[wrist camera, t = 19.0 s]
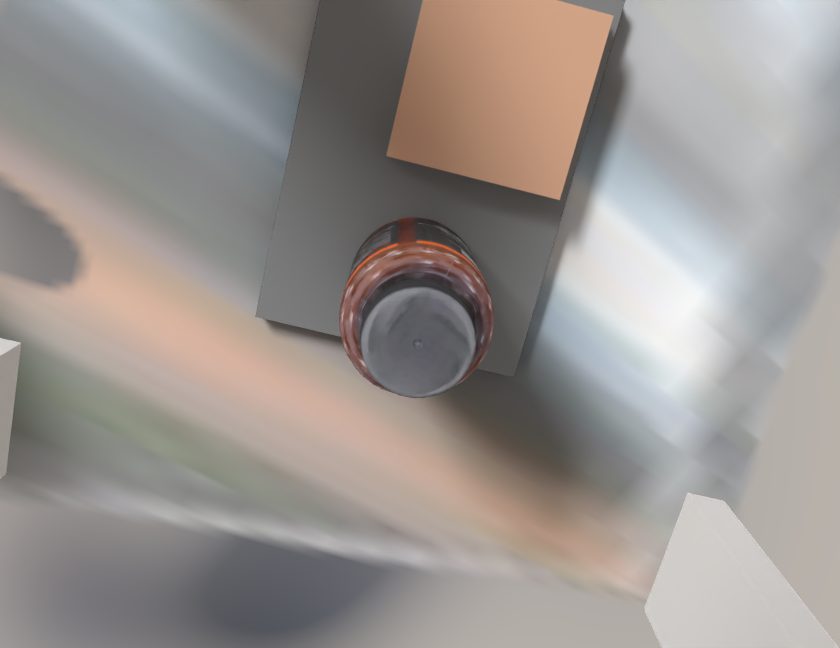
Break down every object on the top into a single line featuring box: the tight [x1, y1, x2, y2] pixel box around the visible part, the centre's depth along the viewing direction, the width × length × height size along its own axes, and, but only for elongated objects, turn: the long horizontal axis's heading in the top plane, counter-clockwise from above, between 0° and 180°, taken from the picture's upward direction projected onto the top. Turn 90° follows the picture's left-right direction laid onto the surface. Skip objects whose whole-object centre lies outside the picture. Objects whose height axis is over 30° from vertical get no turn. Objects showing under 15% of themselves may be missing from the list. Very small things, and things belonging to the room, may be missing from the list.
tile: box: [386, 0, 614, 200], centre depth 35 cm, size 8×2×8 cm
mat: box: [255, 0, 625, 378], centre depth 37 cm, size 18×13×1 cm
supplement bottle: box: [339, 217, 494, 398], centre depth 32 cm, size 6×6×11 cm
